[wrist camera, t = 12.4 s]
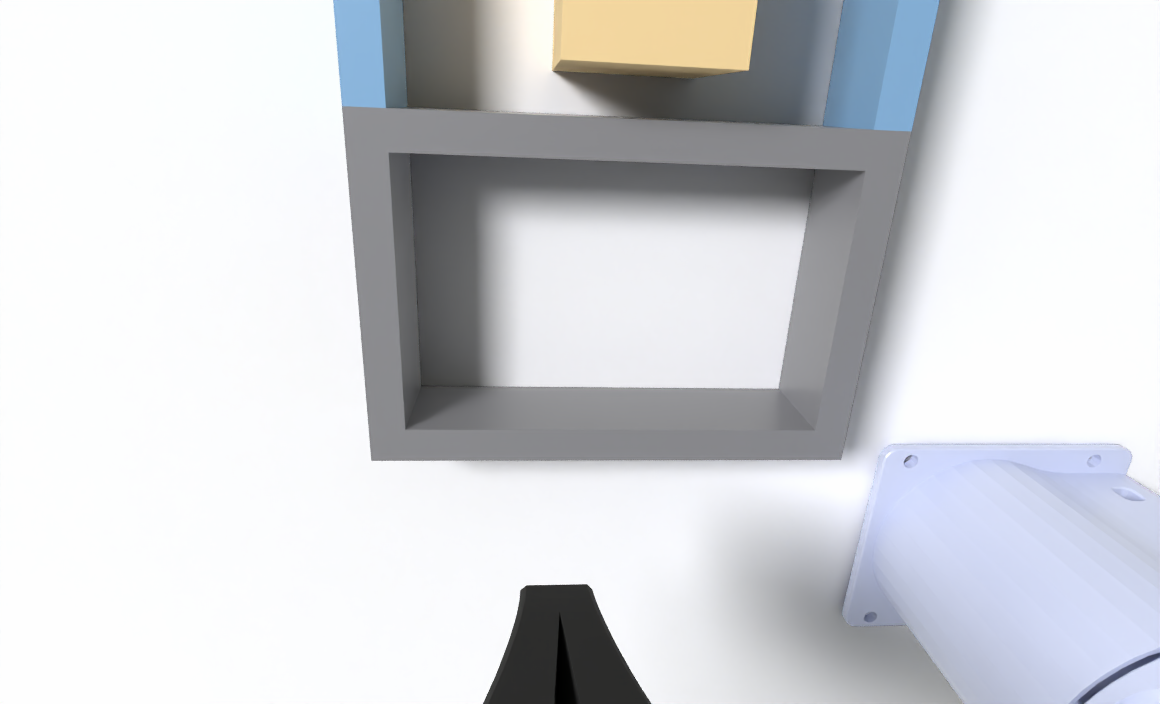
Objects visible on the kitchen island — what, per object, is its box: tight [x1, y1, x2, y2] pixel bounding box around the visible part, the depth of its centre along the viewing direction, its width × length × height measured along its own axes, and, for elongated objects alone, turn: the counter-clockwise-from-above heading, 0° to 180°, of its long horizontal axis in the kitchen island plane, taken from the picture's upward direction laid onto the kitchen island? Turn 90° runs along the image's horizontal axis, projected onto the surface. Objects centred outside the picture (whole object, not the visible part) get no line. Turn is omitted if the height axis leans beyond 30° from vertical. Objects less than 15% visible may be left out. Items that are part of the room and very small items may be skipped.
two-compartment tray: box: [333, 0, 940, 461], centre depth 17 cm, size 14×18×3 cm
